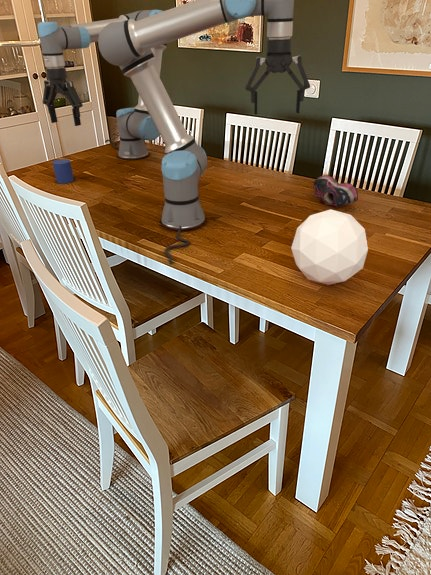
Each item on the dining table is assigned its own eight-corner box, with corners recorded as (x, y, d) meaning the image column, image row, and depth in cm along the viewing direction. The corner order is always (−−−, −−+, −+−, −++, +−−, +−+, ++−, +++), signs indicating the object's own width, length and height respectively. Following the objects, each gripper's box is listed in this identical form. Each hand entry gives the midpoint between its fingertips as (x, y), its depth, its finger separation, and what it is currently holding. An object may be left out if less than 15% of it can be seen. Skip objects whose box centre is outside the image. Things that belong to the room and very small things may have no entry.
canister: (59, 178, 200) (55, 159, 196) (75, 177, 200) (71, 158, 196) (54, 183, 194) (50, 164, 189) (71, 183, 194) (67, 163, 190)
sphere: (335, 308, 121) (353, 282, 102) (274, 269, 126) (281, 237, 107) (370, 256, 126) (393, 222, 107) (310, 220, 131) (322, 182, 112)
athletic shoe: (322, 174, 175) (297, 182, 171) (360, 169, 156) (333, 177, 152) (327, 202, 178) (303, 210, 174) (365, 200, 158) (339, 209, 155)
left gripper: (26, 67, 176) (38, 122, 188) (71, 69, 166) (81, 128, 177) (40, 65, 182) (51, 119, 193) (85, 67, 171) (94, 124, 182)
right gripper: (319, 36, 135) (313, 109, 147) (237, 39, 137) (238, 111, 148) (323, 37, 129) (316, 114, 140) (237, 40, 130) (238, 116, 142)
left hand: (66, 124), depth 185 cm, fingers open, 13 cm apart
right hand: (276, 113), depth 144 cm, fingers open, 13 cm apart
